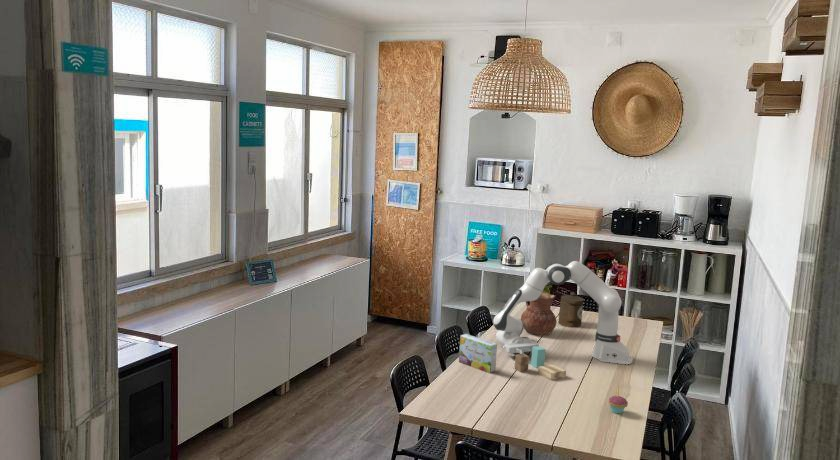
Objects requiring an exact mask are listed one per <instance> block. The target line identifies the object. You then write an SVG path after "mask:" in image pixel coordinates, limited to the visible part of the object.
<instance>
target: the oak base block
mask: <svg viewBox="0 0 840 460" xmlns="http://www.w3.org/2000/svg"><path fill="white" fill-rule="evenodd" d="M537 369H538V370H537V374H538V375H540V376H542V377H544V378H546V379H548V380H550V381H553V380H558V379H559V380H560V379H563V378H566V375H567V370H566V369H563V368H562V367H559V366H557V365H556V364H553V363H552V364H547V365H544V366H539V367H538V368H537Z"/></svg>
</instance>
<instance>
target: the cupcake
mask: <svg viewBox="0 0 840 460" xmlns="http://www.w3.org/2000/svg"><path fill="white" fill-rule="evenodd" d="M616 391H617V393H616V395H612V396H611V397H609V399H608V405H609V406H610V410H611V412H612V413H613V412H615V413H614V414H617V413H621V412H622V413H623V412H624V410H625V408H627V407H628V405H629V402H628V400H627V399H626V398H624V397H623V396H620V395H619V394H620V393H619V392H620V387H619V386H617V389H616ZM622 413H621V414H622Z"/></svg>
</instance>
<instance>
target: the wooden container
mask: <svg viewBox="0 0 840 460" xmlns="http://www.w3.org/2000/svg"><path fill="white" fill-rule="evenodd" d="M569 294H570V295H569ZM569 294H564V295H561V297H560V305H559V311H558V324H559V325H560V326H562V327H566V328H580V327H581V326H582V318H583V306H584V298H583V297H581V296H578V295H576V293H575V292H574V291H571V292H570V293H569Z"/></svg>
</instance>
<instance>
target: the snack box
mask: <svg viewBox="0 0 840 460" xmlns="http://www.w3.org/2000/svg"><path fill="white" fill-rule="evenodd" d="M459 336H460V337H459V339H460V340H459V351H458V352H459V355H458V362H459V363H461V364H463V365H467V366H470V367H472V368H475V369H477V370H479V371H483V372H485V373H488V374H492V373H494V372H495V371H496V368H497V367H496V365H497V355H498V354H497V352H498V351H497V350H498V344H497V343H495V342H492V341H489V340H486V339H483V338H480V337H477V336H474V335H471V334H469V333H465V334H464V333H463V334H461V335H459Z"/></svg>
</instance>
